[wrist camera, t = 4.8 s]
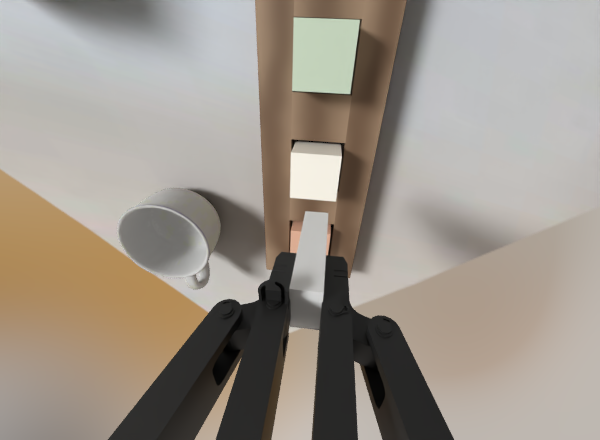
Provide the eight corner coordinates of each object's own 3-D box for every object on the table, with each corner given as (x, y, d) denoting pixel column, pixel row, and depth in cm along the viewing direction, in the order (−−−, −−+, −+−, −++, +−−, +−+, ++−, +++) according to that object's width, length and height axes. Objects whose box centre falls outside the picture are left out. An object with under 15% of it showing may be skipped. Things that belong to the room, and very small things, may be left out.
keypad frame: (403, -24, 21) (413, -35, 18) (348, 263, 38) (349, 278, 36) (262, -27, 22) (253, -39, 19) (270, 255, 39) (266, 269, 36)
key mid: (340, 144, 27) (341, 156, 23) (335, 185, 29) (335, 201, 26) (295, 141, 27) (290, 152, 24) (294, 182, 30) (289, 197, 26)
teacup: (144, 179, 34) (97, 208, 27) (219, 176, 33) (189, 205, 26) (179, 258, 42) (149, 296, 35) (241, 258, 40) (223, 298, 33)
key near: (355, 26, 21) (360, 19, 18) (347, 89, 24) (350, 94, 21) (299, 24, 22) (293, 17, 18) (297, 86, 24) (292, 90, 21)
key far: (330, 216, 33) (330, 234, 30) (327, 245, 36) (326, 264, 33) (294, 213, 34) (290, 230, 30) (293, 242, 36) (290, 260, 33)
